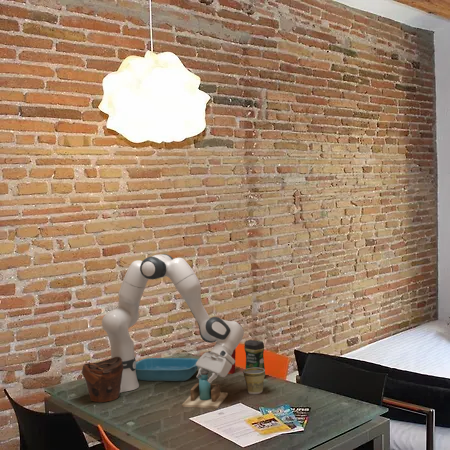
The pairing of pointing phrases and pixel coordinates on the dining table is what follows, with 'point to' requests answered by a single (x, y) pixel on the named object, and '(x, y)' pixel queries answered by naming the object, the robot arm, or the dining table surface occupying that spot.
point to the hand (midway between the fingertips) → (203, 380)
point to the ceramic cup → (254, 379)
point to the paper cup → (233, 364)
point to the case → (103, 379)
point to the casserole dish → (166, 369)
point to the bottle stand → (211, 403)
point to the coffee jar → (254, 354)
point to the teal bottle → (204, 386)
